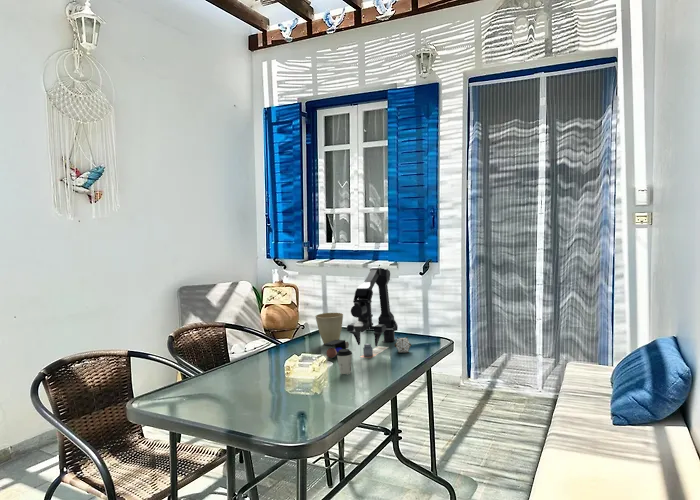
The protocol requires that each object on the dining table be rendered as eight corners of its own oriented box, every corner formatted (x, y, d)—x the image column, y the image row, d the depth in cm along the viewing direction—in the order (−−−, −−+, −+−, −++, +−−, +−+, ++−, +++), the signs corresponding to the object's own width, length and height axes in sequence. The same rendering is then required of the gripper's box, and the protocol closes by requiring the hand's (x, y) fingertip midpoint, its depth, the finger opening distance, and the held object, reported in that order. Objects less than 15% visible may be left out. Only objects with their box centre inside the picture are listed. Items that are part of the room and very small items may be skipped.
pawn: (366, 354, 243) (365, 343, 243) (374, 354, 241) (373, 343, 241) (362, 356, 239) (361, 345, 239) (370, 357, 237) (369, 345, 237)
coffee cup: (356, 373, 215) (355, 350, 215) (342, 376, 212) (341, 353, 211) (348, 369, 221) (346, 347, 221) (334, 373, 218) (333, 350, 217)
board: (376, 346, 258) (376, 345, 258) (392, 347, 254) (392, 346, 254) (356, 358, 239) (356, 357, 239) (373, 359, 234) (373, 358, 234)
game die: (406, 359, 244) (415, 341, 246) (406, 357, 236) (415, 339, 238) (390, 350, 246) (399, 333, 248) (389, 348, 238) (399, 330, 240)
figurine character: (338, 353, 256) (322, 358, 242) (337, 338, 256) (322, 342, 242) (349, 354, 252) (335, 359, 239) (349, 339, 253) (334, 343, 239)
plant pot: (325, 349, 260) (323, 319, 259) (313, 344, 273) (310, 315, 272) (350, 344, 267) (348, 314, 266) (336, 339, 280) (334, 311, 279)
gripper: (340, 316, 236) (342, 348, 237) (375, 317, 227) (377, 351, 228) (351, 311, 246) (353, 342, 247) (385, 312, 237) (387, 345, 238)
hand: (367, 345), depth 240 cm, fingers open, 9 cm apart
